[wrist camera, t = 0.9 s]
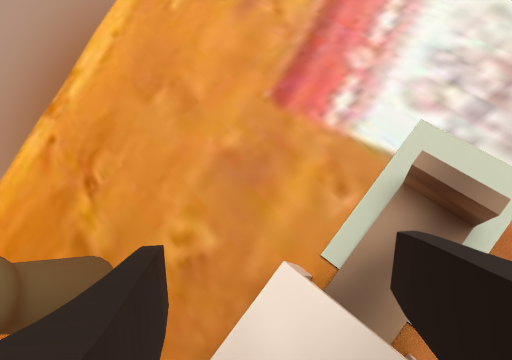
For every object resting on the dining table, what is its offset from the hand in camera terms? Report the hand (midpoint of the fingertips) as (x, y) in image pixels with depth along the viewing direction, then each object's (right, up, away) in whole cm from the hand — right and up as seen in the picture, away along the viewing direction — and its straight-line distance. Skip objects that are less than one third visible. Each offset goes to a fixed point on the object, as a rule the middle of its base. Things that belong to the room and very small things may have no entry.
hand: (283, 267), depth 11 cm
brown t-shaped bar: (+6, -5, +12) cm, 14 cm away
